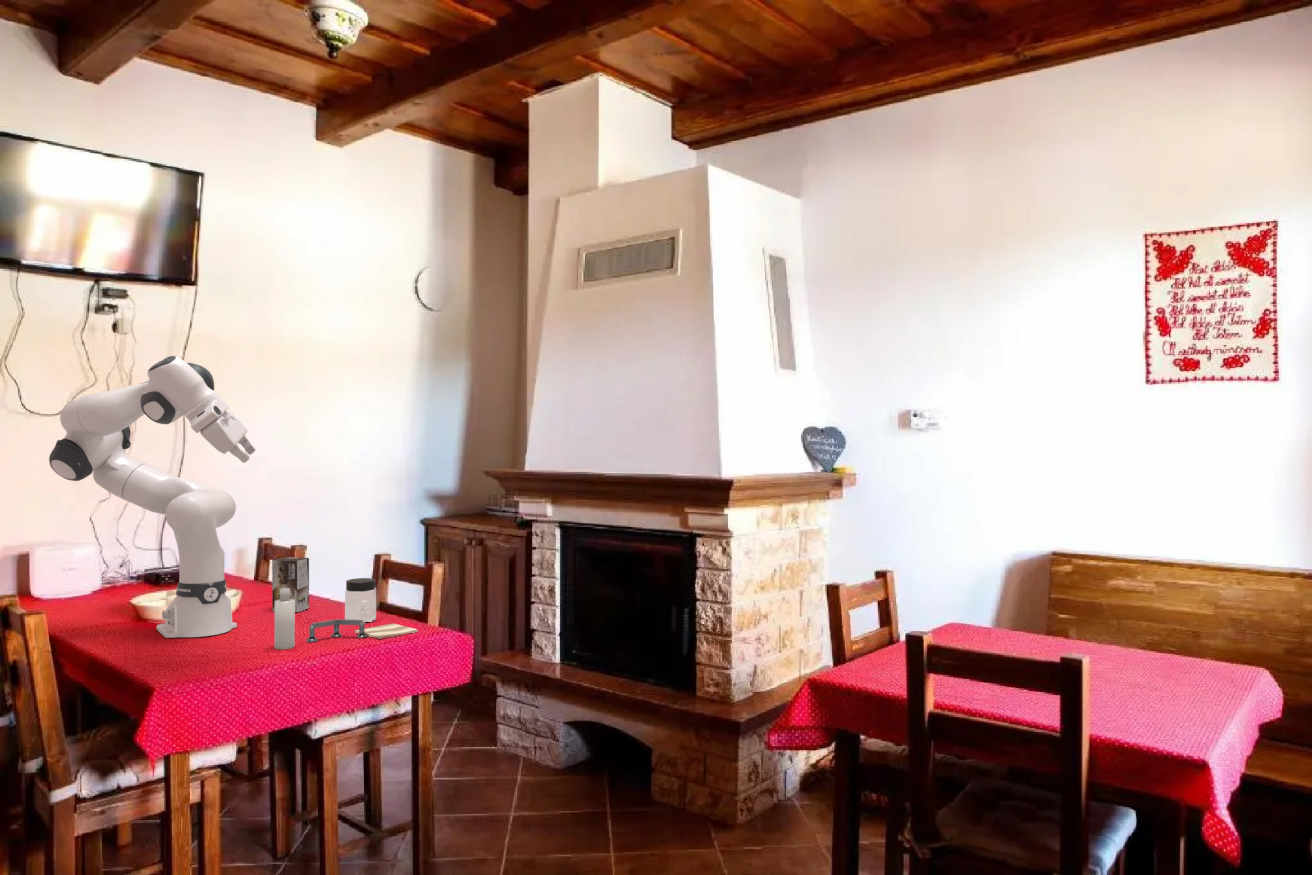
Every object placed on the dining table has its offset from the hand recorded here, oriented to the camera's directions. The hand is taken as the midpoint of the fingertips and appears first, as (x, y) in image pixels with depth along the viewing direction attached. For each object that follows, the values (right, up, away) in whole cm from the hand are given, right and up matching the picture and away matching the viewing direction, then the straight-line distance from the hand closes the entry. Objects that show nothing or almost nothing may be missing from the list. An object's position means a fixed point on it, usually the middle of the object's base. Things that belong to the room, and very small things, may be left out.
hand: (250, 456), depth 219 cm
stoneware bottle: (+5, -49, +9) cm, 50 cm away
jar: (+14, -49, +41) cm, 66 cm away
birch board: (+26, -49, +26) cm, 61 cm away
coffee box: (-13, -49, +56) cm, 76 cm away
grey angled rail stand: (+15, -49, +18) cm, 55 cm away
